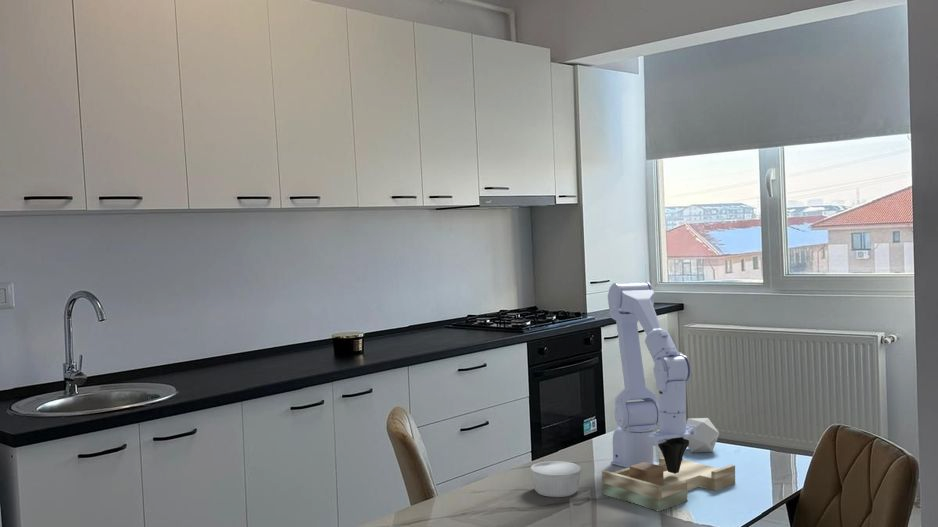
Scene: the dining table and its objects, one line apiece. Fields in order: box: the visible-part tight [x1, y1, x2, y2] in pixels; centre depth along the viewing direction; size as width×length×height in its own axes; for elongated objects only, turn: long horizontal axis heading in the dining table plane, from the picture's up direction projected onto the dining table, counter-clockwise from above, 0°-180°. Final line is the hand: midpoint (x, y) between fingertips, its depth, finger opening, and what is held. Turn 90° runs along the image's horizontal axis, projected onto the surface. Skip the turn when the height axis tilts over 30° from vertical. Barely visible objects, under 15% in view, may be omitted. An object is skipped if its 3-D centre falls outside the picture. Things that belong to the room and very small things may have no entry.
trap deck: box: [601, 456, 736, 512], centre depth 179 cm, size 15×27×5 cm, turn 129°
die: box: [684, 417, 720, 453], centre depth 210 cm, size 8×9×10 cm
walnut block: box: [630, 462, 664, 486], centre depth 174 cm, size 5×5×4 cm
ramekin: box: [529, 460, 582, 498], centre depth 180 cm, size 11×11×5 cm
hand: (673, 472), depth 180 cm, fingers closed
